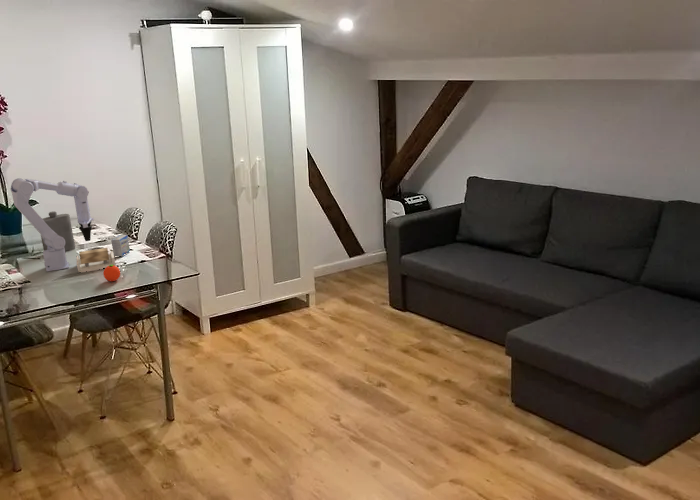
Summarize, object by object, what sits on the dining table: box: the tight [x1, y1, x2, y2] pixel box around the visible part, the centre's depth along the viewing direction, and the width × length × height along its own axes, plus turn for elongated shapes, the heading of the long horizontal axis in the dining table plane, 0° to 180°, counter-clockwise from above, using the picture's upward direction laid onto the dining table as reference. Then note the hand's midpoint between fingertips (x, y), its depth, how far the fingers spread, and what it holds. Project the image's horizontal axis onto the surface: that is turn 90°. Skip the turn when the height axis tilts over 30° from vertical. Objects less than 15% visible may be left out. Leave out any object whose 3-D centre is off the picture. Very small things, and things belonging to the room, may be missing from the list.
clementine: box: [102, 265, 121, 282], centre depth 299 cm, size 8×7×7 cm
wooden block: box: [78, 247, 109, 264], centre depth 316 cm, size 12×4×4 cm, turn 110°
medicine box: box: [111, 234, 131, 257], centre depth 332 cm, size 8×4×9 cm, turn 168°
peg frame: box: [75, 250, 116, 274], centre depth 318 cm, size 16×11×4 cm
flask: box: [40, 211, 76, 252], centre depth 339 cm, size 15×6×20 cm, turn 135°
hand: (87, 238), depth 326 cm, fingers open, 7 cm apart
